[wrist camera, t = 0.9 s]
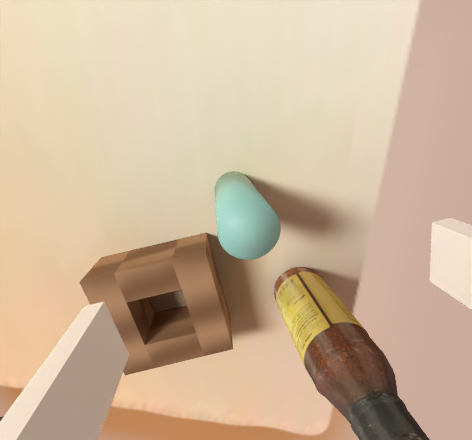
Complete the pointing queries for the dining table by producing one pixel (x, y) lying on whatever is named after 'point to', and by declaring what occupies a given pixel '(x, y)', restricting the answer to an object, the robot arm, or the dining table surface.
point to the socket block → (155, 283)
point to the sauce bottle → (343, 358)
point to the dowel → (244, 218)
